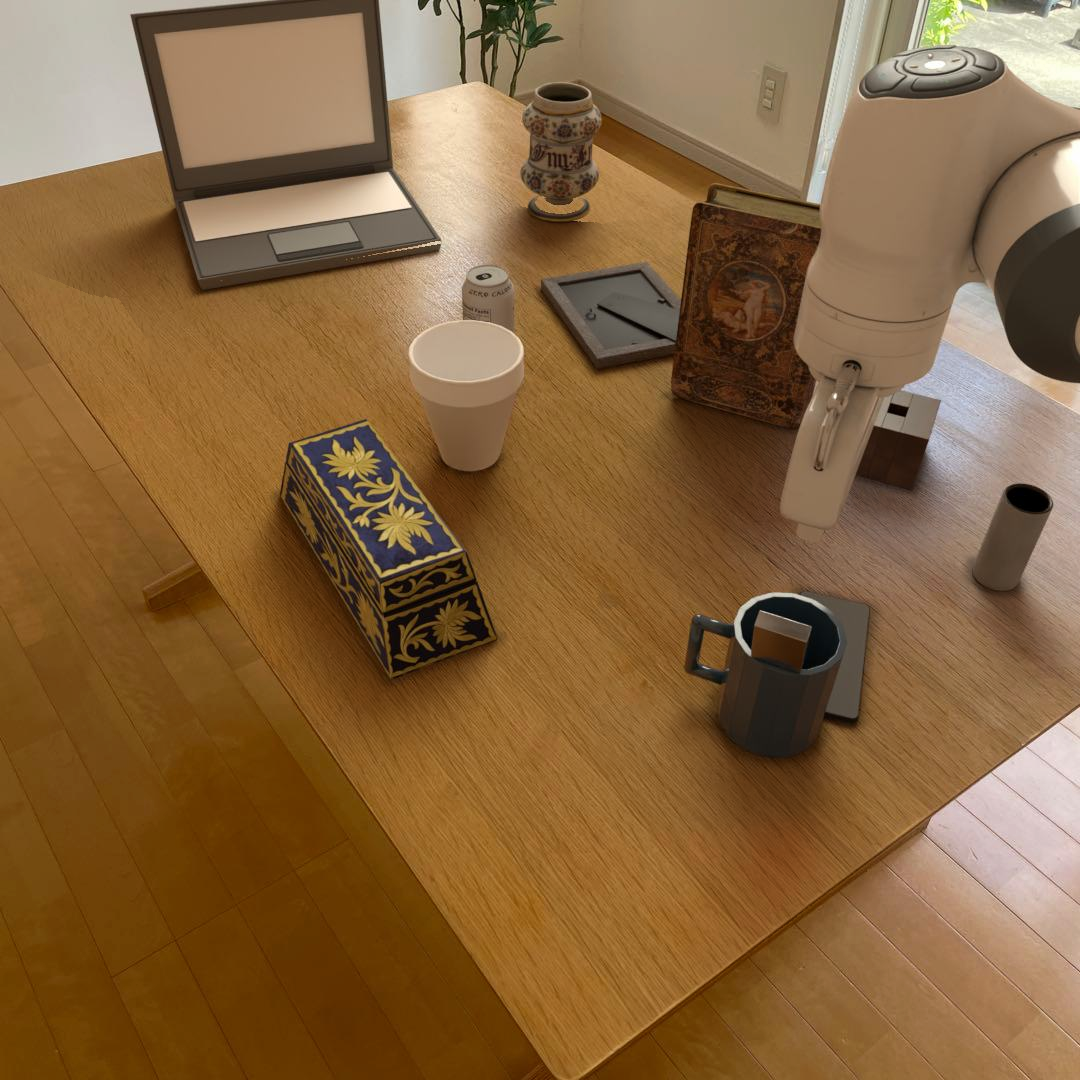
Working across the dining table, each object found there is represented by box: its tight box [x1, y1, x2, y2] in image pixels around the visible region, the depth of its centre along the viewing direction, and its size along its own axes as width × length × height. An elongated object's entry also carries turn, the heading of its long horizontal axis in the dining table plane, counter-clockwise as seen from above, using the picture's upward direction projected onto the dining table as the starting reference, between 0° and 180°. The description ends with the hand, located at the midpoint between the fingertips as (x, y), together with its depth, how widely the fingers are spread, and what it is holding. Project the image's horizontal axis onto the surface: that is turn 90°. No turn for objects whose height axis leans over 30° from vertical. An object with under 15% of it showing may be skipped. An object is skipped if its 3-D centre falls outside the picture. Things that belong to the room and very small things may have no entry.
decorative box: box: [279, 418, 499, 680], centre depth 103 cm, size 11×30×9 cm, turn 30°
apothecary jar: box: [519, 81, 603, 223], centre depth 159 cm, size 12×12×18 cm
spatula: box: [751, 610, 812, 673], centre depth 85 cm, size 4×1×17 cm, turn 65°
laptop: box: [129, 0, 442, 291], centre depth 150 cm, size 35×28×28 cm
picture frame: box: [540, 261, 681, 370], centre depth 141 cm, size 16×2×21 cm
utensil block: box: [855, 389, 942, 491], centre depth 117 cm, size 8×8×7 cm
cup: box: [407, 319, 525, 472], centre depth 115 cm, size 12×12×14 cm
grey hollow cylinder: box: [971, 482, 1054, 592], centre depth 103 cm, size 4×4×10 cm
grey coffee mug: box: [683, 591, 847, 759], centre depth 90 cm, size 13×9×11 cm
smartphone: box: [798, 590, 871, 724], centre depth 98 cm, size 7×1×15 cm
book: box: [670, 182, 821, 430], centre depth 119 cm, size 16×6×25 cm, turn 65°
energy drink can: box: [461, 264, 515, 334], centre depth 125 cm, size 6×6×15 cm
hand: (825, 494), depth 75 cm, fingers open, 8 cm apart
